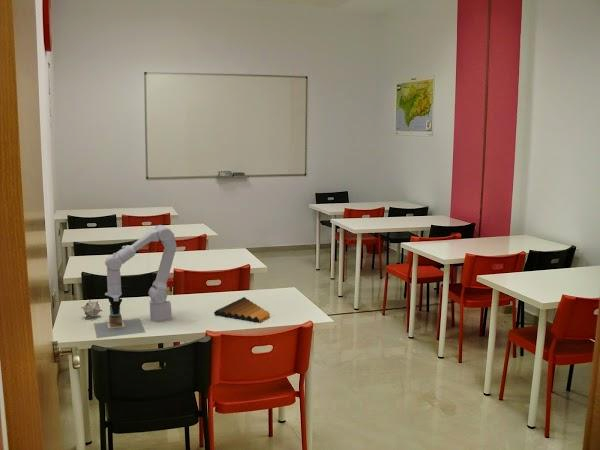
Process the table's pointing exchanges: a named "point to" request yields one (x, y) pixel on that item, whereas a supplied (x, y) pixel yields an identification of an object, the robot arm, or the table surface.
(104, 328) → the board
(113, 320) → the walnut block
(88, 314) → the grey spiky ball
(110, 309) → the teal block
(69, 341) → the table surface
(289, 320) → the table surface
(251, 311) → the pan flute
